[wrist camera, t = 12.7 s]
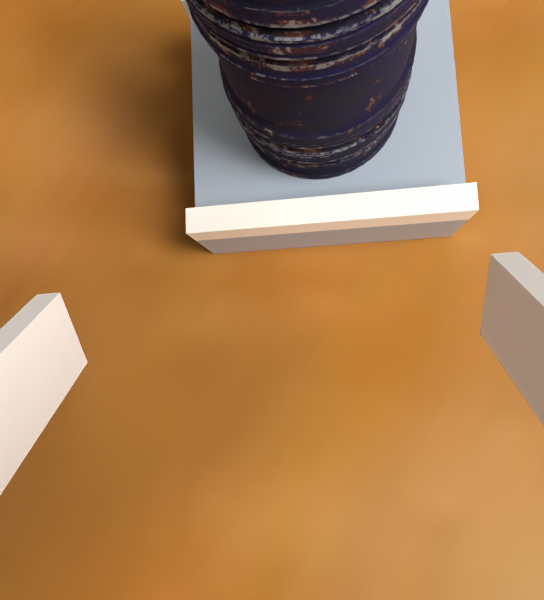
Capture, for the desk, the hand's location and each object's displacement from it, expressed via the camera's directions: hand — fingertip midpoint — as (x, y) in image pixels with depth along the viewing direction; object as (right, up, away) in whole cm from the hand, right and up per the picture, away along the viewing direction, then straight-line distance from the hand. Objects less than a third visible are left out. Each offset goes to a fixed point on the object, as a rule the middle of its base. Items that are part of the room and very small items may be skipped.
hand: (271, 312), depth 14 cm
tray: (+3, +12, +17) cm, 21 cm away
